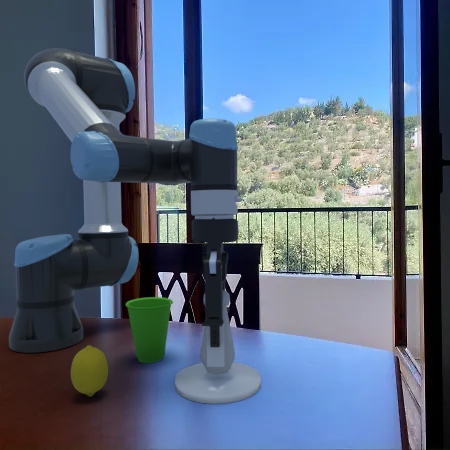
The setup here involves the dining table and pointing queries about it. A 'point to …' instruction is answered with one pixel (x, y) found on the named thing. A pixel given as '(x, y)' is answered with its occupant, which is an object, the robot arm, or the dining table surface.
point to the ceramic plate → (217, 384)
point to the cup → (149, 326)
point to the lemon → (89, 370)
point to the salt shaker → (228, 342)
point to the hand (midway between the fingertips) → (217, 358)
